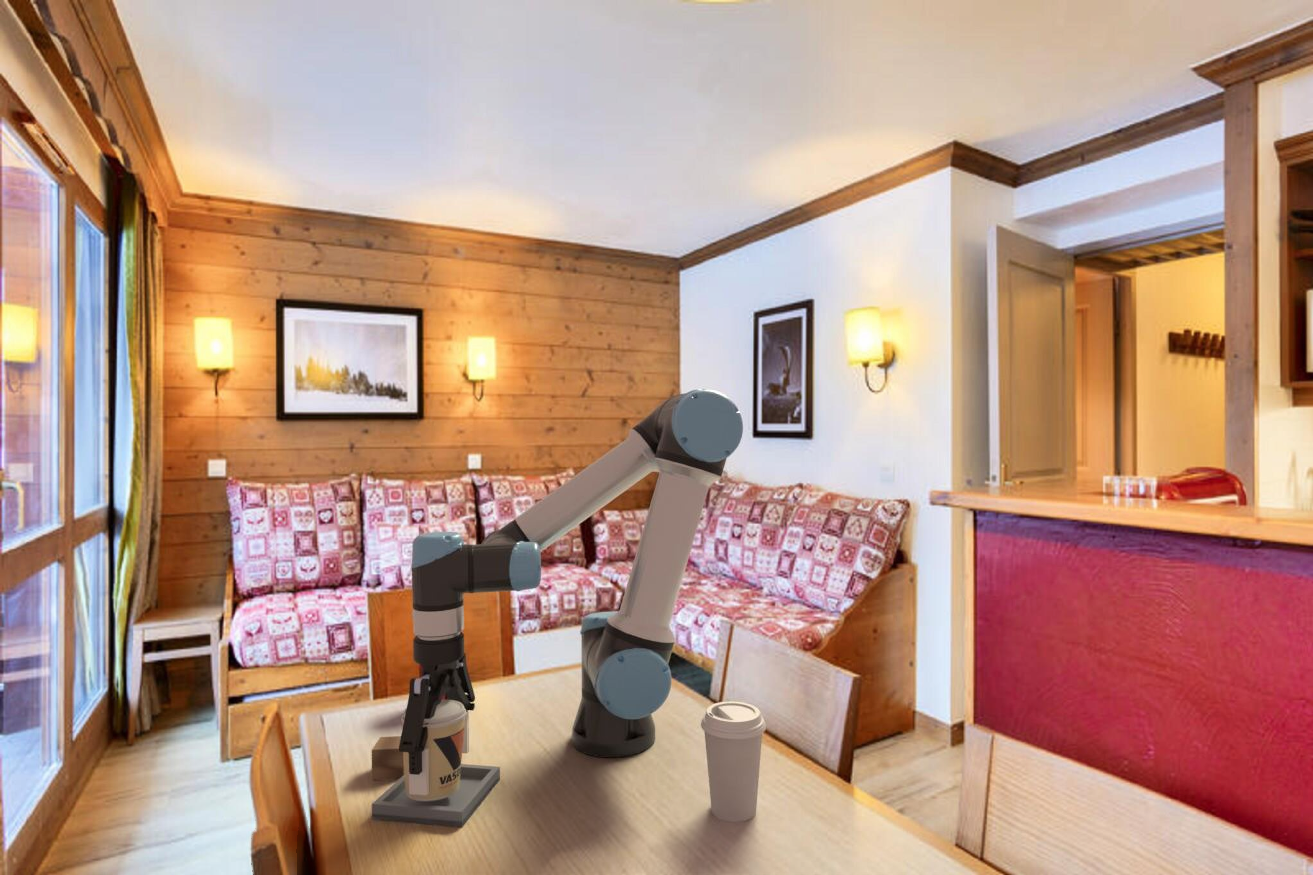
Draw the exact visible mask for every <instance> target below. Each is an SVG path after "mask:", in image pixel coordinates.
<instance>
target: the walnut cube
mask: <svg viewBox="0 0 1313 875" xmlns="http://www.w3.org/2000/svg"><path fill="white" fill-rule="evenodd" d="M400 739H401V735H397V736H396V735H395V736H380V737H379V739H378V740H377V741H376V743H375V744H374V746H373V747H372V749H371V781H380V780H381V781H382V780H383V781H384V780H399V779H400V778H401V777H402V776H403V775H404V774H405V772H404V752H400V751H399V744H400Z"/></svg>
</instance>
